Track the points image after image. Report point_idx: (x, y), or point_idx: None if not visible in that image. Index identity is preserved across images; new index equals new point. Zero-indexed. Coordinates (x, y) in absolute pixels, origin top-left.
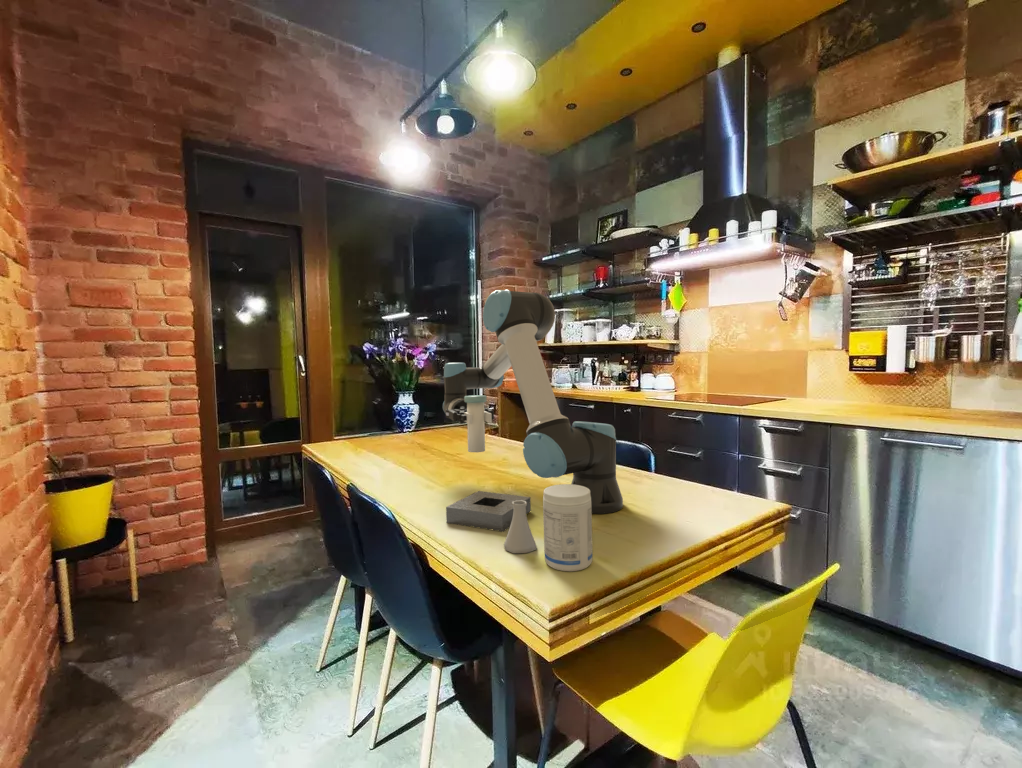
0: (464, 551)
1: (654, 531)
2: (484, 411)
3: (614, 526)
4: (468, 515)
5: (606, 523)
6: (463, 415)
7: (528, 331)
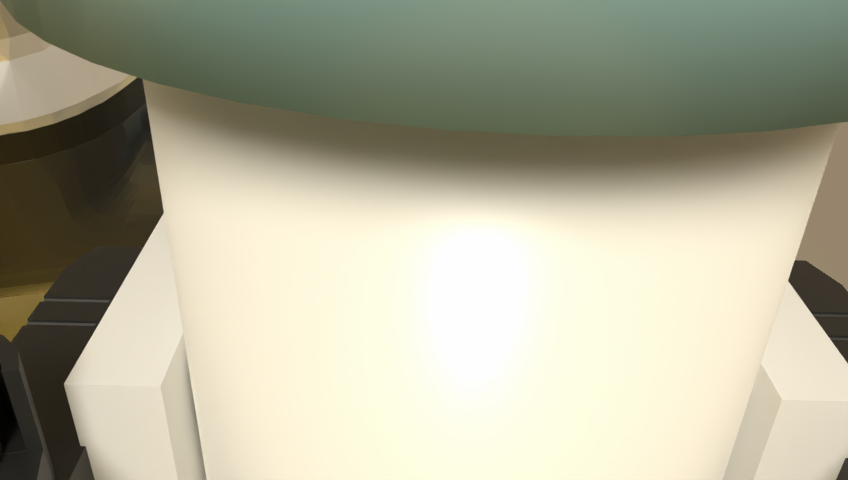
0: None
1: None
2: (153, 322)
3: (27, 296)
4: None
5: (21, 321)
6: (812, 292)
7: None
